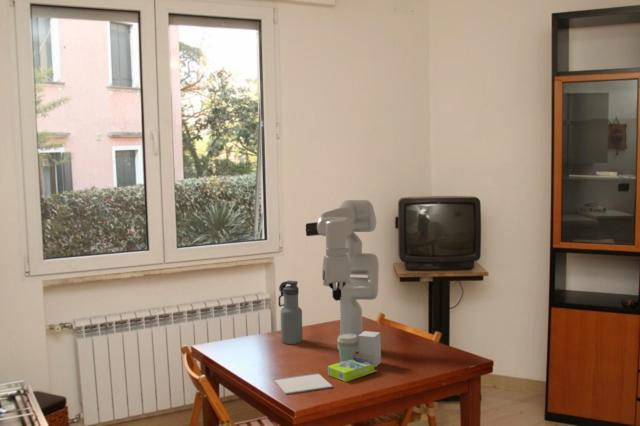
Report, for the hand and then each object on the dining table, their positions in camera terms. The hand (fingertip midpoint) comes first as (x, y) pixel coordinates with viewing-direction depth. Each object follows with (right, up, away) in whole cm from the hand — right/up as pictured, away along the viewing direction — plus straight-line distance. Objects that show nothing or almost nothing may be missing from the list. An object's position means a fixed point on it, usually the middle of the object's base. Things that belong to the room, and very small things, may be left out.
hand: (336, 299), depth 249 cm
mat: (-13, -31, -6) cm, 34 cm away
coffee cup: (+5, -29, +16) cm, 33 cm away
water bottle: (-20, -26, +50) cm, 60 cm away
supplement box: (+14, -29, +16) cm, 36 cm away
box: (0, -28, -1) cm, 28 cm away
